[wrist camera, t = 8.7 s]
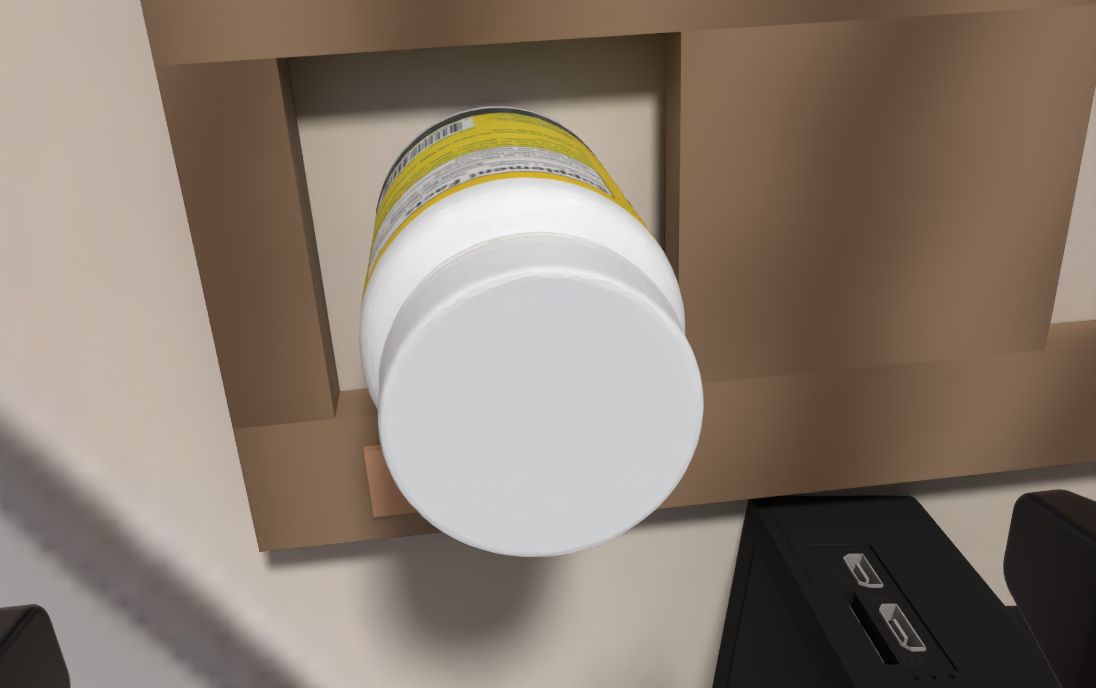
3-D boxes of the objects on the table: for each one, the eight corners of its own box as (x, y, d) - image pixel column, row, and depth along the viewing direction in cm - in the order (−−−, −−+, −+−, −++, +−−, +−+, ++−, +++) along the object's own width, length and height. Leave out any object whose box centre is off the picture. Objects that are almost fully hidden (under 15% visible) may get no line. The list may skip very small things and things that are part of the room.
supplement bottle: (593, 339, 20) (692, 597, 13) (369, 321, 20) (332, 582, 12) (632, 114, 18) (776, 258, 11) (386, 85, 18) (354, 217, 10)
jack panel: (1551, -200, 18) (1636, -208, 17) (1342, 406, 23) (1394, 434, 22) (132, -132, 16) (107, -135, 14) (268, 519, 21) (258, 557, 20)
